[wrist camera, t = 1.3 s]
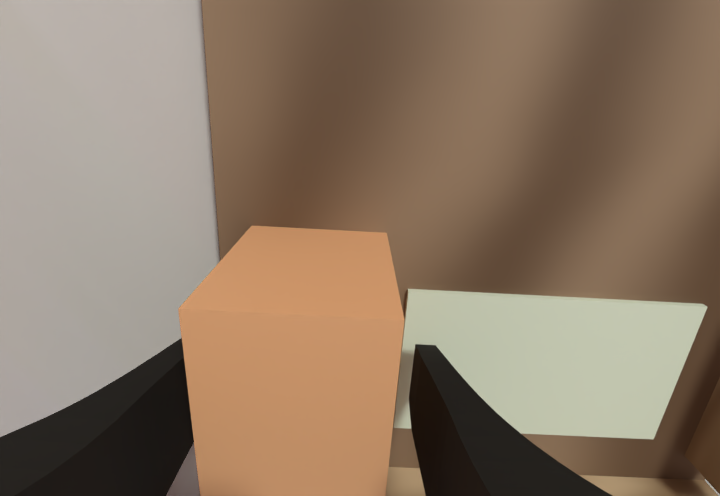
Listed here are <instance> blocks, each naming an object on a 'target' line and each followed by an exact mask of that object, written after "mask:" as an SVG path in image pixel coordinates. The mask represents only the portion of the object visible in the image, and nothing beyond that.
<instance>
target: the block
mask: <svg viewBox="0 0 720 496" xmlns="http://www.w3.org/2000/svg"><path fill="white" fill-rule="evenodd" d="M178 310H179V319H180V327H181V336H182V344H183V353H184V361H185V370H186V378H187V387H188V396H189V404H190V413H191V421H192V430H193V438H194V447H195V455H196V464H197V472H198V481H199V489H200V496H385V495H386V485H387V476H388V467H389V458H390V449H391V439H392V430H393V421H394V412H395V403H396V394H397V384H398V375H399V366H400V357H401V348H402V338H403V329H404V315H403V310H402V305H401V300H400V295H399V290H398V286H397V281H396V276H395V271H394V266H393V261H392V256H391V251H390V246H389V241H388V236H387V233H381V232H362V231H344V230H325V229H307V228H288V227H269V226H251V227H250V228H249V229H248V230H247V231H246V233H245V234H244V235H243V236H242V237H241V238H240V239H239V241H238V242H237V243H236V244H235V245H234V246H233V247H232V248H231V250H230V251H229V252H228V253H227V254H226V255H225V256H224V258H223V259H222V260H221V261H220V262H219V263H218V264H217V265H216V267H215V268H214V269H213V270H212V271H211V272H210V273H209V275H208V276H207V277H206V278H205V279H204V280H203V281H202V283H201V284H200V285H199V286H198V287H197V288H196V289H195V290H194V292H193V293H192V294H191V295H190V296H189V297H188V298H187V300H186V301H185V302H184V303H183V304H182V305H181V306H180V308H179V309H178Z"/></svg>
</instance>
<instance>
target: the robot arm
mask: <svg viewBox="0 0 720 496" xmlns="http://www.w3.org/2000/svg"><path fill="white" fill-rule="evenodd" d="M409 409H410V419H411V429H412V435H413V439H414V444H415V449H416V454H417V458H418V463H419V467H420V472H421V476H422V481H423V486H424V490H425V495H426V496H613V495H611V494H609V493H607V492H606V491H604V490H602V489H601V488H599V487H597V486H596V485H594V484H592V483H591V482H589V481H588V480H586V479H584V478H583V477H581V476H579V475H578V474H576V473H575V472H573V471H572V470H570V469H569V468H567V467H566V466H564V465H563V464H561V463H560V462H558V461H557V460H555V459H554V458H553V457H551V456H550V455H548V454H547V453H546V452H544V451H543V450H541V449H540V448H539V447H537V446H536V445H535V444H533V443H532V442H531V441H529V440H528V439H527V438H526V437H524V436H523V435H522V434H521V433H520V432H518V431H517V430H516V429H515V428H514V427H512V426H511V425H510V424H509V423H508V422H506V421H505V420H504V419H503V418H502V417H501V416H500V415H499V414H497V413H496V412H495V411H494V410H493V409H492V408H491V407H490V406H489V405H488V404H487V403H486V402H485V401H484V400H483V399H482V398H481V397H480V396H479V395H478V394H477V393H476V392H475V391H474V390H473V388H472V387H471V386H470V385H469V384H468V383H467V382H466V381H465V380H464V379H463V377H462V376H461V375H460V374H459V373H458V372H457V370H456V369H455V368H454V367H453V366H452V364H451V363H450V362H449V361H448V360H447V358H446V357H445V356H444V355H443V354H442V352H441V351H440V350H439V349H438V348H437V346H436V345H422V344H415V351H414V359H413V367H412V375H411V383H410V392H409ZM193 442H194V438H193V430H192V421H191V413H190V404H189V396H188V387H187V378H186V370H185V361H184V353H183V344H182V338H181V339H180V340H178V341H176V342H175V343H173V344H172V345H170V346H169V347H167V348H166V349H164V350H163V351H161V352H160V353H158V354H157V355H155V356H154V357H152V358H151V359H149V360H147V361H146V362H144V363H143V364H141V365H140V366H138V367H137V368H135V369H134V370H132V371H130V372H129V373H127V374H125V375H124V376H122V377H120V378H119V379H117V380H115V381H114V382H112V383H110V384H108V385H107V386H105V387H103V388H102V389H100V390H98V391H97V392H95V393H93V394H91V395H89V396H88V397H86V398H84V399H82V400H80V401H78V402H76V403H74V404H72V405H70V406H68V407H66V408H64V409H62V410H60V411H58V412H56V413H54V414H52V415H50V416H48V417H46V418H44V419H41V420H39V421H37V422H34V423H32V424H30V425H27V426H25V427H23V428H21V429H18V430H16V431H14V432H11V433H9V434H7V435H5V436H2V437H0V496H166V494H167V492H168V490H169V488H170V486H171V485H172V483H173V481H174V479H175V477H176V475H177V473H178V471H179V469H180V467H181V465H182V463H183V461H184V459H185V458H186V456H187V454H188V452H189V450H190V448H191V446H192V444H193Z"/></svg>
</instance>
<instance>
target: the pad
mask: <svg viewBox="0 0 720 496" xmlns="http://www.w3.org/2000/svg"><path fill="white" fill-rule="evenodd" d="M706 310H707V306H705V305H704V304H697V303H677V302H658V301H638V300H618V299H599V298H579V297H560V296H540V295H520V294H501V293H481V292H462V291H442V290H422V289H408V291H407V300H406V309H405V318H404V329H403V338H402V348H401V357H400V366H399V375H398V384H397V394H396V403H395V412H394V421H393V428H407V429H411V419H410V409H409V392H410V383H411V375H412V367H413V359H414V351H415V344H422V345H436V346H437V348H438V349H439V350H440V351H441V352H442V354H443V355H444V356H445V357H446V358H447V360H448V361H449V362H450V363H451V364H452V366H453V367H454V368H455V369H456V370H457V372H458V373H459V374H460V375H461V376H462V377H463V379H464V380H465V381H466V382H467V383H468V384H469V385H470V386H471V387H472V388H473V390H474V391H475V392H476V393H477V394H478V395H479V396H480V397H481V398H482V399H483V400H484V401H485V402H486V403H487V404H488V405H489V406H490V407H491V408H492V409H493V410H494V411H495V412H496V413H497V414H499V415H500V416H501V417H502V418H503V419H504V420H505V421H506V422H508V423H509V424H510V425H511V426H512V427H514V428H515V429H516V430H517V431H518V432H520V433H521V434H542V435H565V436H587V437H610V438H633V439H654V437H655V435H656V432H657V430H658V427H659V425H660V422H661V420H662V417H663V415H664V413H665V410H666V408H667V405H668V403H669V400H670V398H671V395H672V393H673V391H674V388H675V386H676V383H677V381H678V378H679V376H680V373H681V371H682V369H683V366H684V364H685V361H686V359H687V356H688V354H689V351H690V349H691V346H692V344H693V342H694V339H695V337H696V334H697V332H698V329H699V327H700V324H701V322H702V320H703V317H704V315H705V312H706Z"/></svg>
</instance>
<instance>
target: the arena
mask: <svg viewBox="0 0 720 496" xmlns="http://www.w3.org/2000/svg"><path fill="white" fill-rule="evenodd" d="M201 1H202V14H203V28H204V42H205V56H206V70H207V84H208V98H209V111H210V125H211V139H212V153H213V167H214V181H215V195H216V208H217V222H218V236H219V250H220V261H221V260H222V259H223V258H224V256H225V255H226V254H227V253H228V252H229V251H230V250H231V248H232V247H233V246H234V245H235V244H236V243H237V242H238V241H239V239H240V238H241V237H242V236H243V235H244V234H245V233H246V231H247V230H248V229H249V228H250V227H251V226H269V227H288V228H307V229H325V230H344V231H362V232H381V233H387V236H388V241H389V246H390V251H391V256H392V261H393V266H394V271H395V276H396V281H397V286H398V290H399V295H400V300H401V305H402V310H403V315H404V318H405V309H406V300H407V291H408V289H422V290H442V291H462V292H481V293H501V294H520V295H540V296H560V297H579V298H599V299H618V300H638V301H658V302H677V303H697V304H704V305H705V306H707V310H706V312H705V315H704V317H703V320H702V322H701V324H700V327H699V329H698V332H697V334H696V337H695V339H694V342H693V344H692V346H691V349H690V351H689V354H688V356H687V359H686V361H685V364H684V366H683V369H682V371H681V373H680V376H679V378H678V381H677V383H676V386H675V388H674V391H673V393H672V395H671V398H670V400H669V403H668V405H667V408H666V410H665V413H664V415H663V417H662V420H661V422H660V425H659V427H658V430H657V432H656V435H655V437H654V439H633V438H610V437H587V436H565V435H542V434H522V435H523V436H524V437H526V438H527V439H528V440H529V441H531V442H532V443H533V444H535V445H536V446H537V447H539V448H540V449H541V450H543V451H544V452H546V453H547V454H548V455H550V456H551V457H553V458H554V459H555V460H557V461H558V462H560V463H561V464H563V465H564V466H566V467H567V468H569V469H570V470H572V471H573V472H575V473H576V474H578V475H579V476H581V477H583V478H584V479H586V480H588V481H589V482H591V483H592V484H594V485H596V486H597V487H599V488H601V489H602V490H604V491H606V492H607V493H609V494H611V495H613V496H718V495H717V494H716V493H715V491H714V490H713V489H712V488H711V487H710V486H709V485H708V484H707V483H706V482H705V479H706V480H707V481H708V482H709V483H710V484H711V485H712V486H713V487H714V488H715V489H716V491H717V492H718V493H719V494H720V0H201ZM385 496H426V495H425V490H424V486H423V481H422V476H421V472H420V467H419V463H418V458H417V454H416V449H415V444H414V439H413V435H412V429H407V428H393V430H392V439H391V449H390V458H389V467H388V476H387V485H386V495H385Z"/></svg>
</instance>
